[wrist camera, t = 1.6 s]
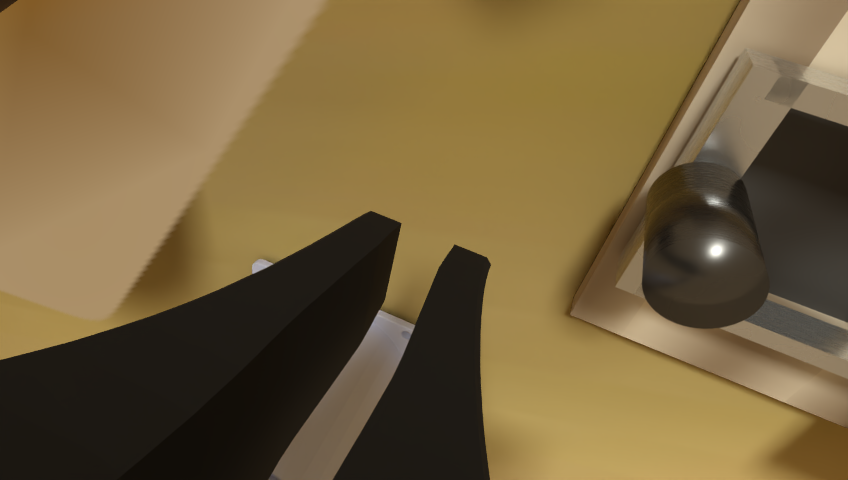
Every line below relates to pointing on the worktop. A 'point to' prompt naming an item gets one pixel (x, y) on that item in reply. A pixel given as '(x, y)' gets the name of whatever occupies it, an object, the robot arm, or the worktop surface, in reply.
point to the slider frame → (731, 217)
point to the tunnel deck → (757, 214)
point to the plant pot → (5, 4)
